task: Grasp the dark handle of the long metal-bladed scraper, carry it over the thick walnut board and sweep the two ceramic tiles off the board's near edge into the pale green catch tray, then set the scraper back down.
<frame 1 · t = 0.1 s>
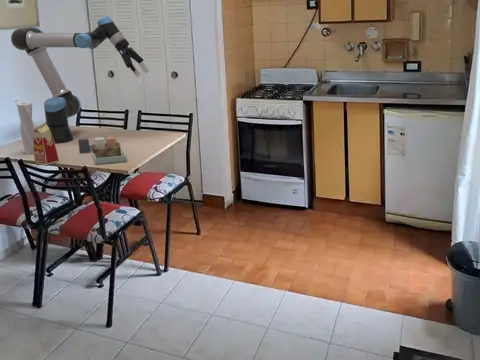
hand: (143, 74, 311), 36 cm above the table, tool tilted 35°, fingers open, 13 cm apart
scraper: (84, 152, 294), on the table
board: (107, 155, 287), on the table
skyscraper: (30, 152, 294), on the table
tile white: (100, 146, 285), point 5 cm above the table, touching board
catch tray: (110, 160, 278), on the table
tile terracotta: (111, 145, 286), point 5 cm above the table, touching board
milk carton: (46, 162, 277), on the table
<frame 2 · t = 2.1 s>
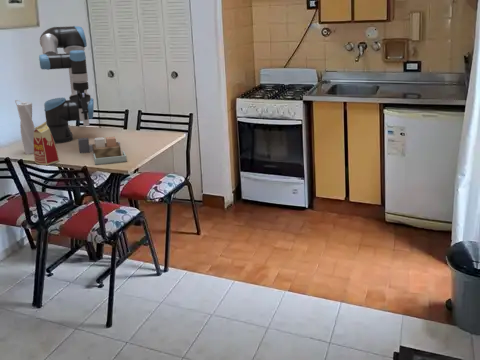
hand: (84, 123, 289), 15 cm above the table, tool pointing down, fingers open, 13 cm apart
nothing on the table moved.
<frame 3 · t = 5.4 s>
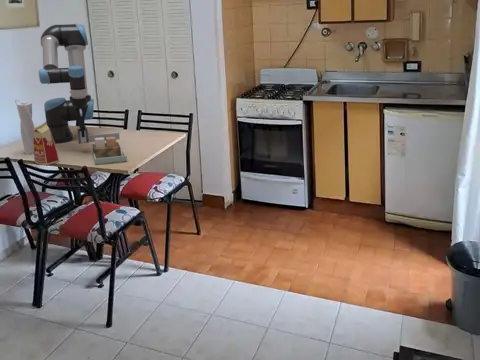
hand: (83, 141, 293), 5 cm above the table, tool pointing down, fingers closed on scraper, 4 cm apart
scraper: (83, 142, 293), point 5 cm above the table, touching gripper
everything else where it was.
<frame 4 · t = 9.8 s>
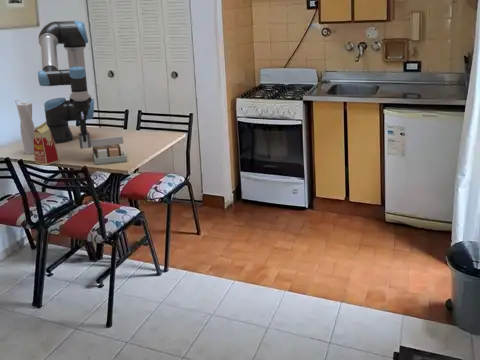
hand: (85, 146, 278), 7 cm above the table, tool pointing down, fingers closed on scraper, 4 cm apart
scraper: (85, 147, 278), point 6 cm above the table, touching gripper
tile white: (102, 153, 280), point 3 cm above the table, tilted 90°, touching catch tray
tile terracotta: (113, 152, 282), point 3 cm above the table, tilted 91°, touching catch tray
everything else where it was.
when the fingers open (2 cm above the table, at t = 15.6 s): scraper drops 2 cm, on the table.
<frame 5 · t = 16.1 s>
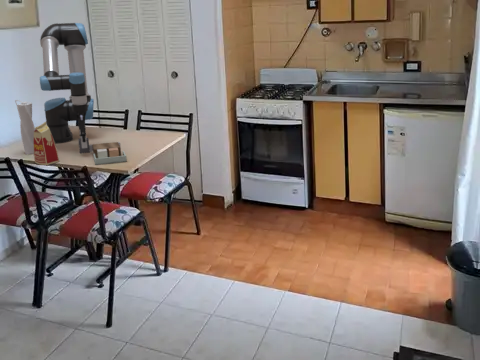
hand: (83, 145, 293), 4 cm above the table, tool pointing down, fingers open, 11 cm apart
scraper: (84, 151, 294), on the table
everything else where it was.
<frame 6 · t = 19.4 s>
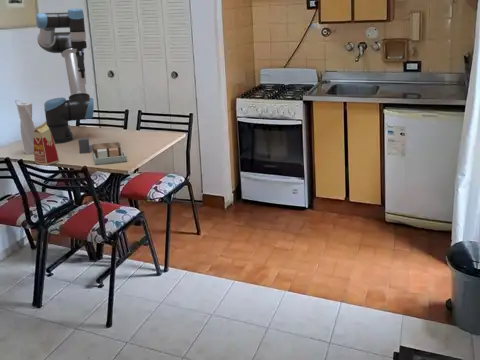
hand: (82, 82, 292), 35 cm above the table, tool pointing down, fingers open, 13 cm apart
nothing on the table moved.
at the end: tile white inside the target area (5.8 cm from its centre), point 2.7 cm above the table; tile terracotta inside the target area (5.3 cm from its centre), point 2.7 cm above the table; the gripper is holding nothing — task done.
